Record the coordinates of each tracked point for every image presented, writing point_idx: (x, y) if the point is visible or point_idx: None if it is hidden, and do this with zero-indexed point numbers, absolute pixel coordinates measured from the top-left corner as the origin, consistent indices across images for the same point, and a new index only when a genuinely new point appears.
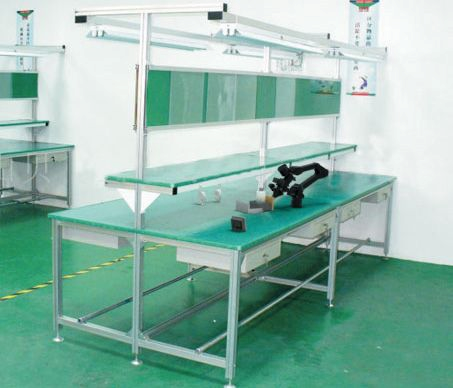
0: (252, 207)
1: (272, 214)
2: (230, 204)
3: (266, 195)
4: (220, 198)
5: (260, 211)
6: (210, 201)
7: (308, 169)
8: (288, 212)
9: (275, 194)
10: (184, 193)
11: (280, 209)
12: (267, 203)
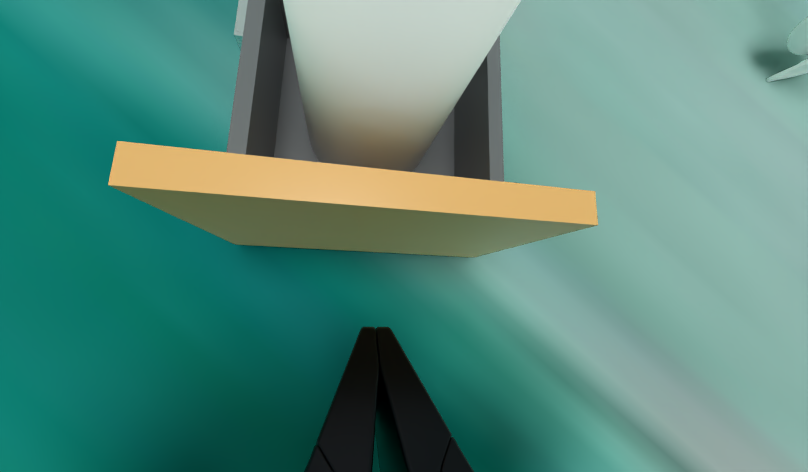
0: None
1: (73, 88)
2: (682, 90)
3: (436, 194)
4: (802, 37)
5: None
6: None
7: None
8: (27, 402)
9: (315, 445)
10: None
11: (278, 427)
12: (237, 108)
